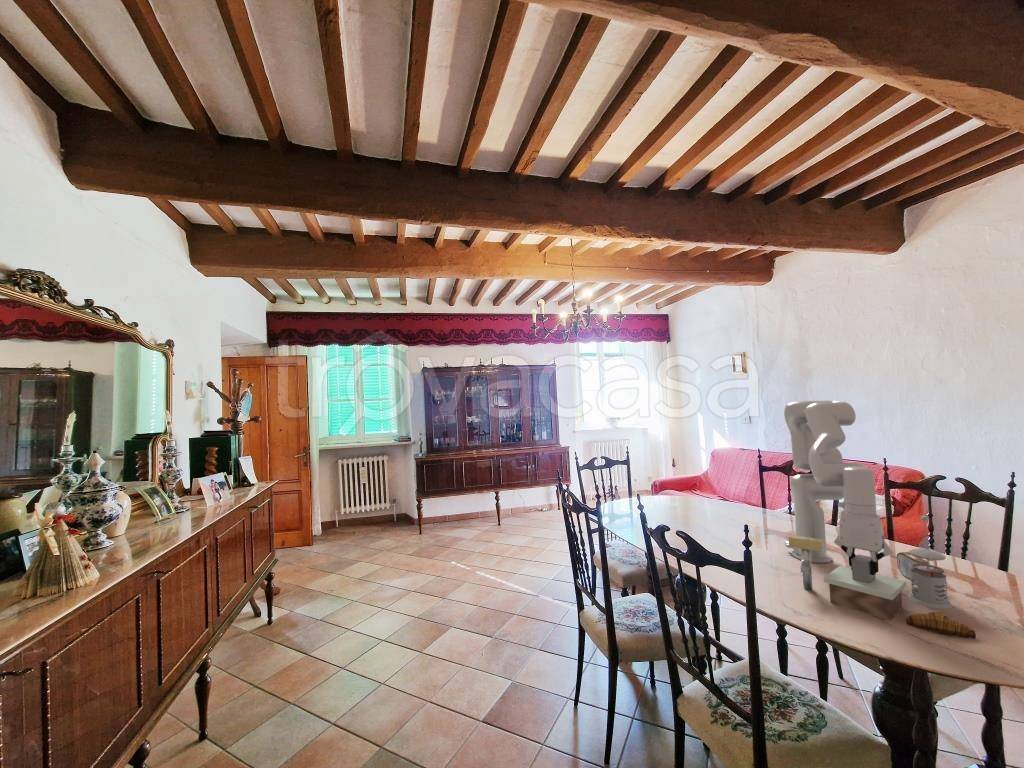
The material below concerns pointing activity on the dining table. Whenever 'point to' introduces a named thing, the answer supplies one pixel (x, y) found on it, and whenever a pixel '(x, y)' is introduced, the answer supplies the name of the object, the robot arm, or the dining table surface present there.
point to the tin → (908, 564)
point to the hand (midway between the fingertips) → (863, 571)
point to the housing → (865, 602)
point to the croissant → (940, 624)
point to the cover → (865, 579)
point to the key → (806, 555)
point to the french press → (928, 578)
